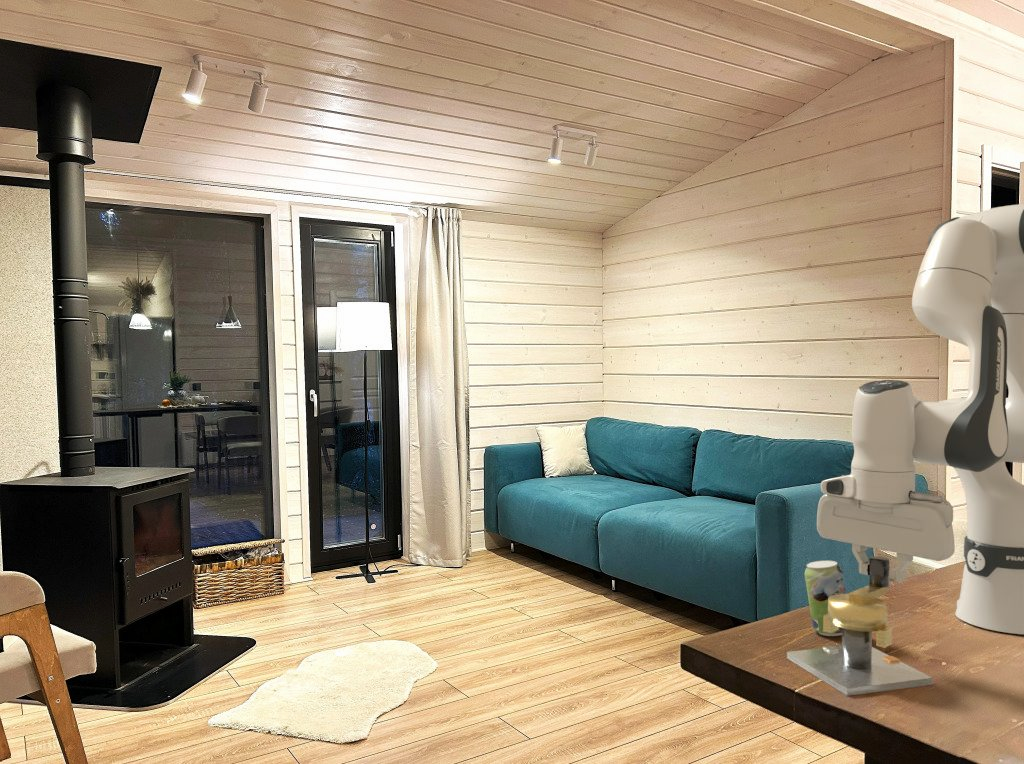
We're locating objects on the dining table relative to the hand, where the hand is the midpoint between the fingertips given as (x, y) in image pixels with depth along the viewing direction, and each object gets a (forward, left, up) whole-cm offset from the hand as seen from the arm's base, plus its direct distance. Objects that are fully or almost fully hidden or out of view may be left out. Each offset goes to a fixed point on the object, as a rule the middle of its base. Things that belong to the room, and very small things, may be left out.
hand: (881, 577), depth 121 cm
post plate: (+6, +3, -13) cm, 14 cm away
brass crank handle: (+4, +2, -8) cm, 9 cm away
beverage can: (0, -12, -13) cm, 18 cm away
